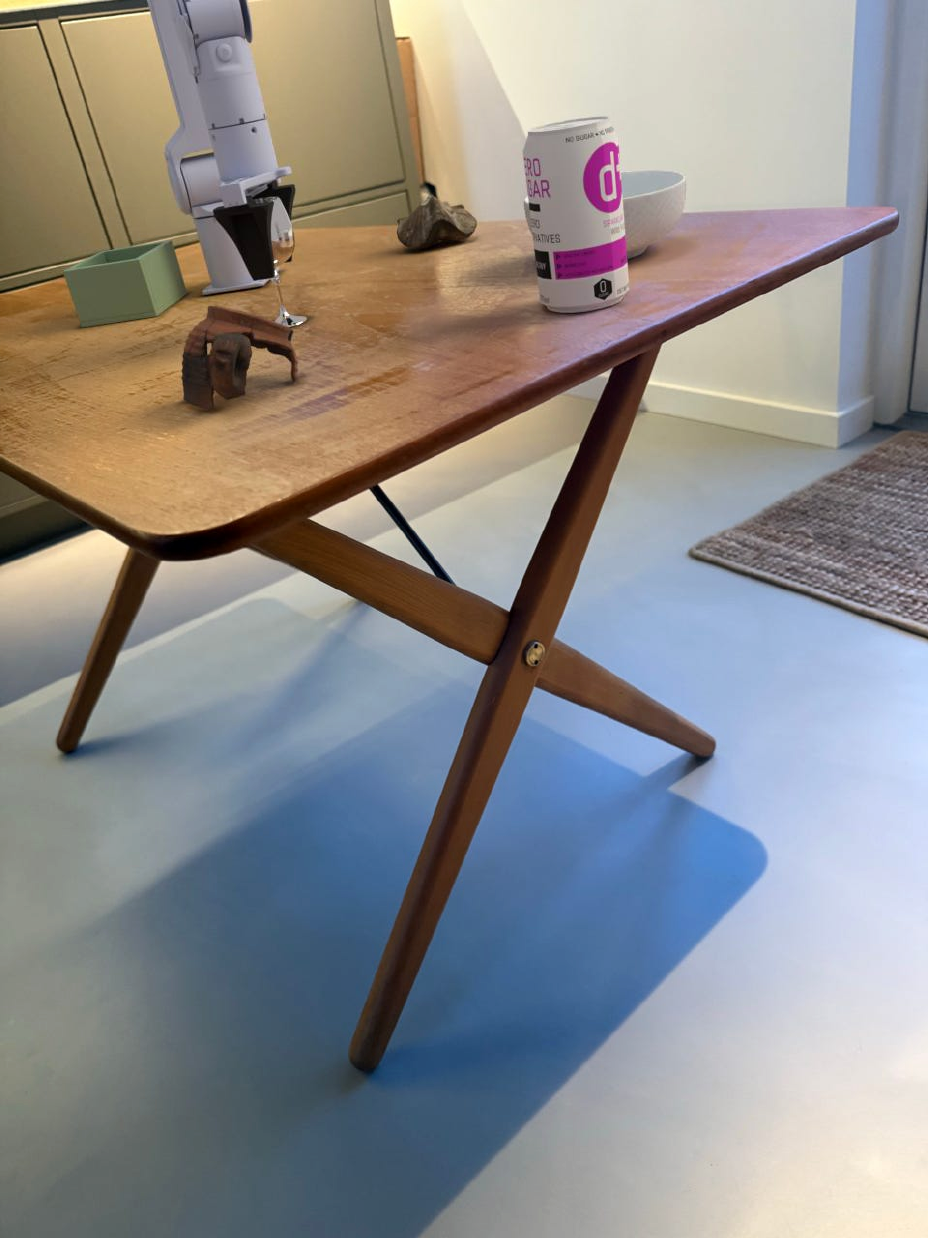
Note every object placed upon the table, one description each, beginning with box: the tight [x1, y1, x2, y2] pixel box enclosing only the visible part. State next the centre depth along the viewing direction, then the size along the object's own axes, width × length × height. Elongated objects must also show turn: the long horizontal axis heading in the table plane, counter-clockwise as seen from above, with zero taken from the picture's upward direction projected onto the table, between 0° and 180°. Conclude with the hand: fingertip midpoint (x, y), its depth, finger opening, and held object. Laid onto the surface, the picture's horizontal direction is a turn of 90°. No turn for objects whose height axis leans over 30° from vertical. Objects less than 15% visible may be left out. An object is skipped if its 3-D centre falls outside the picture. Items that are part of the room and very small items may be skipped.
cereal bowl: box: [523, 169, 687, 260], centre depth 107 cm, size 17×17×7 cm
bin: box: [62, 239, 188, 328], centre depth 123 cm, size 12×10×7 cm
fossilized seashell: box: [396, 194, 478, 250], centre depth 129 cm, size 8×7×10 cm
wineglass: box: [253, 197, 308, 328], centre depth 102 cm, size 6×6×12 cm
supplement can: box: [522, 115, 630, 314], centre depth 89 cm, size 8×8×15 cm
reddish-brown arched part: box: [180, 305, 299, 411], centre depth 83 cm, size 12×9×8 cm
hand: (273, 270), depth 103 cm, fingers open, 7 cm apart
